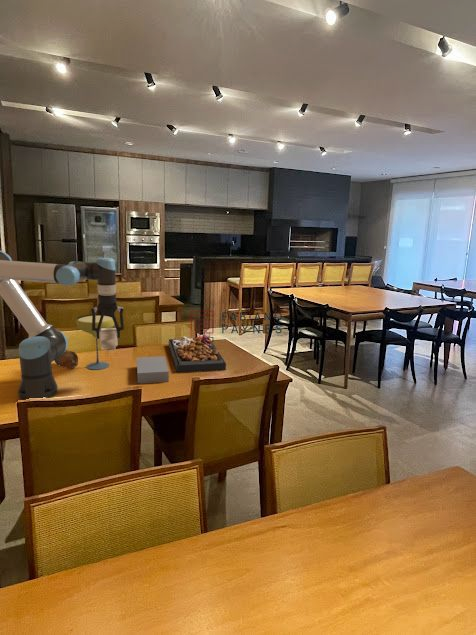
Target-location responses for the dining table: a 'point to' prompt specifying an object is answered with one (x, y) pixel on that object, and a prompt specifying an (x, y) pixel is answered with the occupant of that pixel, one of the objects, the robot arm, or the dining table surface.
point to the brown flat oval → (67, 359)
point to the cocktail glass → (95, 334)
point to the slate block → (152, 369)
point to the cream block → (108, 338)
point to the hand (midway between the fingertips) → (108, 345)
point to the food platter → (195, 354)
